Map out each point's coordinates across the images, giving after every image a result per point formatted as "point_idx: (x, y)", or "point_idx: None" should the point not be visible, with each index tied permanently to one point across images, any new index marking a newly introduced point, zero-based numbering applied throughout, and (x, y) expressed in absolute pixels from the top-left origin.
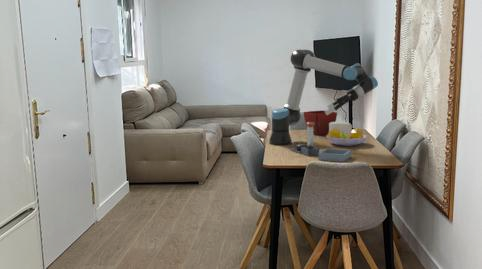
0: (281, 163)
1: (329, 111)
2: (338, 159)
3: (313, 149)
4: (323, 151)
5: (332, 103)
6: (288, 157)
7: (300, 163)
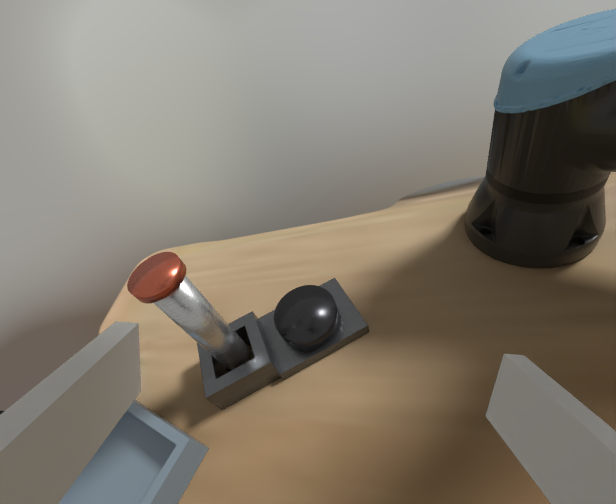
0: None
1: (549, 451)
2: None
3: (201, 367)
4: (133, 414)
5: (31, 402)
6: (211, 289)
7: None
